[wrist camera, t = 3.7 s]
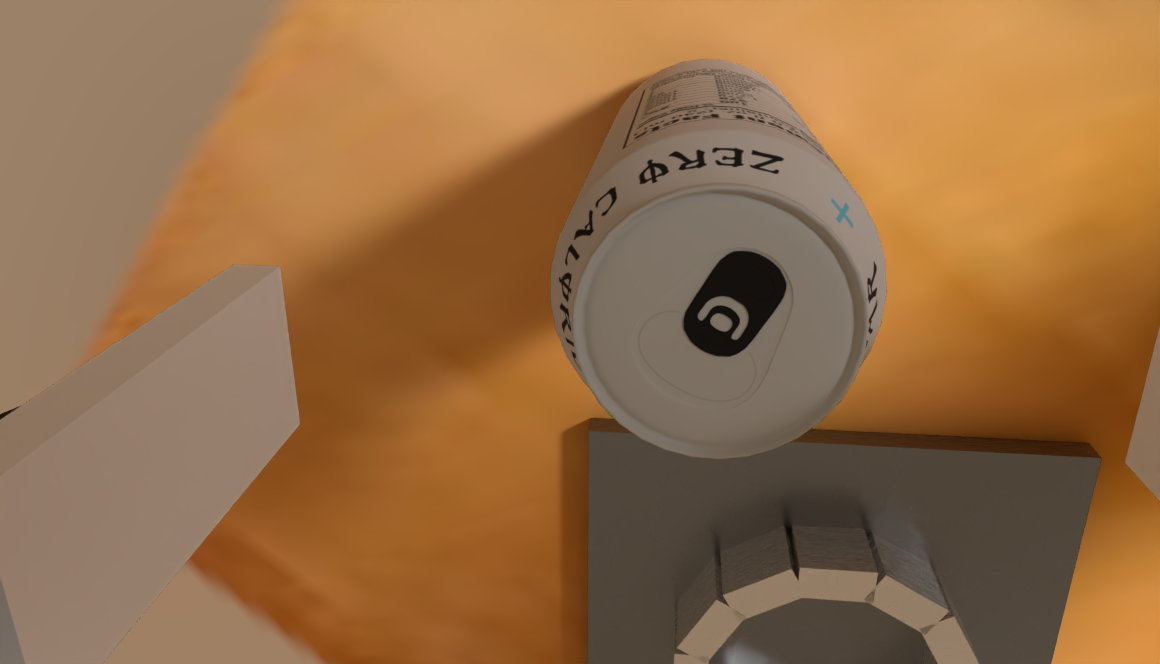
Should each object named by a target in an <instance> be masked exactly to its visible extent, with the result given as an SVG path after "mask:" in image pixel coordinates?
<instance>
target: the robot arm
mask: <svg viewBox="0 0 1160 664" xmlns="http://www.w3.org/2000/svg"><path fill="white" fill-rule="evenodd" d="M299 425H300V419H299V411H298V403H297V395H296V387H295V379H294V372H293V364H292V356H291V348H290V340H289V332H288V325H287V317H286V309H285V301H284V293H283V285H282V277H281V270H280V266H258V265H232V266H230V267H229V268H227V269H226V270H224V271H223V272H221V273H220V274H218V275H217V276H215V277H214V278H212V279H211V280H209V281H208V282H206V283H205V284H203V285H202V286H200V287H199V288H197V289H196V290H194V291H193V292H191V293H190V294H188V295H187V296H185V297H184V298H182V299H181V300H179V301H178V302H176V303H175V304H173V305H172V306H170V307H169V308H167V309H166V310H164V311H163V312H161V313H160V314H158V315H157V316H155V317H154V318H152V319H151V320H149V321H148V322H146V323H145V324H143V325H142V326H140V327H139V328H137V329H136V330H134V331H133V332H131V333H130V334H128V335H127V336H125V337H124V338H122V339H121V340H119V341H118V342H116V343H115V344H113V345H112V346H110V347H109V348H107V349H106V350H104V351H103V352H101V353H100V354H98V355H97V356H95V357H94V358H92V359H91V360H89V361H88V362H86V363H85V364H83V365H82V366H80V367H79V368H77V369H76V370H74V371H73V372H71V373H70V374H68V375H67V376H65V377H64V378H62V379H61V380H59V381H58V382H56V383H55V384H53V385H52V386H50V387H49V388H47V389H46V390H44V391H43V392H41V393H40V394H38V395H37V396H35V397H34V398H32V399H31V400H29V401H28V402H26V403H25V404H23V405H22V406H19V407H17V408H14V409H12V410H9V411H7V412H4V413H2V414H0V664H102V663H103V662H104V661H105V660H106V659H107V657H108V656H109V655H110V654H111V652H112V651H113V650H114V649H115V648H116V647H117V645H118V644H119V643H120V642H121V640H122V639H123V638H124V637H125V636H126V634H127V633H128V632H129V631H130V630H131V628H132V627H133V626H134V624H135V623H136V622H137V621H138V620H139V619H140V617H141V616H142V615H143V614H144V613H145V611H146V610H147V609H148V608H149V607H150V605H151V604H152V603H153V602H154V600H155V599H156V598H157V597H158V595H159V594H160V593H161V592H162V591H163V590H164V588H165V587H166V586H167V585H168V584H169V582H170V581H171V580H172V579H173V577H174V576H175V575H176V574H177V573H178V571H179V570H180V569H181V568H182V567H183V565H184V564H185V563H186V562H187V561H188V559H189V558H190V557H191V556H192V554H193V553H194V552H195V551H196V550H197V548H198V547H199V546H200V545H201V544H202V542H203V541H204V540H205V539H206V537H207V536H208V535H209V534H210V533H211V531H212V530H213V529H214V528H215V527H216V525H217V524H218V523H219V522H220V521H221V519H222V518H223V517H224V516H225V514H226V513H227V512H228V511H229V510H230V508H231V507H232V506H233V505H234V504H235V502H236V501H237V500H238V499H239V498H240V496H241V495H242V494H243V493H244V491H245V490H246V489H247V488H248V487H249V485H250V484H251V483H252V482H253V481H254V479H255V478H256V477H257V476H258V474H259V473H260V472H261V471H262V470H263V468H264V467H265V466H266V465H267V464H268V462H269V461H270V460H271V459H272V458H273V456H274V455H275V454H276V453H277V451H278V450H279V449H280V448H281V447H282V445H283V444H284V443H285V442H286V441H287V439H288V438H289V437H290V436H291V434H292V433H293V432H294V431H295V430H296V428H297V427H298V426H299ZM1125 464H1126V465H1127V466H1128V467H1129V468H1130V469H1131V470H1132V471H1133V472H1134V473H1135V475H1136V476H1137V477H1138V478H1139V479H1140V480H1141V481H1142V482H1143V483H1144V484H1145V486H1146V487H1147V488H1148V489H1149V490H1150V491H1151V492H1152V493H1153V494H1154V495H1155V497H1156V498H1157V499H1158V500H1159V501H1160V327H1159V331H1158V335H1157V339H1156V343H1155V347H1154V351H1153V355H1152V358H1151V362H1150V366H1149V370H1148V374H1147V378H1146V382H1145V386H1144V390H1143V394H1142V398H1141V402H1140V405H1139V409H1138V413H1137V417H1136V421H1135V425H1134V429H1133V433H1132V437H1131V441H1130V445H1129V449H1128V452H1127V456H1126V460H1125Z"/></svg>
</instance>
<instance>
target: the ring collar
mask: <svg viewBox="0 0 1160 664" xmlns="http://www.w3.org/2000/svg"><path fill="white" fill-rule="evenodd" d="M1101 459H1102V458H1101V457H1100V456H1099V454H1098V453H1097V452H1096V451H1095V450H1094V449H1093V447H1092V446H1091V445H1090V444H1089V443H1070V442H1051V441H1031V440H1012V439H992V438H973V437H953V436H934V435H914V434H894V433H875V432H855V431H836V430H816V429H810V430H808V431H807V432H806V433H804V434H803V435H801V436H800V437H799V438H797V439H794V440H792V441H790V442H788V443H786V444H784V445H781V446H779V447H777V448H775V449H773V450H769V451H765V452H762V453H758V454H754V455H750V456H747V457H736V458H725V459H713V458H700V457H691V456H687V455H683V454H679V453H675V452H671V451H667V450H664V449H662V448H660V447H658V446H656V445H653V444H651V443H649V442H647V441H645V440H642V439H640V438H639V437H637V436H636V435H635V434H633V433H632V432H630V431H629V430H627V429H626V428H625V427H623V426H622V425H620V424H619V423H618V422H617V421H616V420H615V419H601V418H591V422H590V426H589V431H588V645H587V664H1051V662H1052V658H1053V654H1054V650H1055V646H1056V642H1057V638H1058V633H1059V629H1060V625H1061V621H1062V617H1063V613H1064V609H1065V605H1066V601H1067V597H1068V593H1069V589H1070V585H1071V581H1072V577H1073V572H1074V568H1075V564H1076V560H1077V556H1078V552H1079V548H1080V544H1081V540H1082V536H1083V532H1084V528H1085V524H1086V520H1087V515H1088V511H1089V507H1090V503H1091V499H1092V495H1093V491H1094V487H1095V483H1096V479H1097V475H1098V471H1099V467H1100V463H1101Z"/></svg>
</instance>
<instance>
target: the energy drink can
mask: <svg viewBox="0 0 1160 664" xmlns="http://www.w3.org/2000/svg"><path fill="white" fill-rule="evenodd" d="M886 292H887V287H886V266H885V257H884V253H883V249H882V246H881V242H880V238H879V235H878V231H877V228H876V226H875V224H874V222H873V220H872V218H871V216H870V214H869V213H868V211H867V209H866V207H865V205H864V203H863V201H862V199H861V198H860V197H859V195H858V194H857V193H856V191H855V190H854V189H853V187H852V186H851V184H850V183H849V182H848V180H847V179H846V178H845V176H844V175H843V174H842V172H841V171H840V170H839V168H838V167H837V166H836V164H835V163H834V162H833V160H832V159H831V158H830V156H829V155H828V154H827V152H826V151H825V150H824V148H823V147H822V146H821V144H820V143H819V142H818V140H817V139H816V138H815V136H814V135H813V134H812V132H811V131H810V130H809V128H808V127H807V126H806V124H805V123H804V122H803V120H802V119H801V118H800V116H799V115H798V114H797V112H796V111H795V110H794V108H793V107H792V106H791V104H790V103H789V101H788V100H787V99H786V98H785V97H784V95H783V94H782V93H781V92H780V91H779V90H778V88H777V87H776V86H775V85H774V84H772V83H771V82H770V81H769V80H767V79H766V78H765V77H763V76H762V75H761V74H760V73H758V72H755V71H753V70H751V69H749V68H747V67H745V66H743V65H740V64H737V63H733V62H729V61H725V60H713V59H699V60H693V61H686V62H681V63H678V64H676V65H673V66H670V67H668V68H665V69H663V70H661V71H659V72H658V73H656V74H655V75H653V76H651V77H650V78H648V79H646V80H645V81H644V82H643V83H642V84H641V85H640V86H639V87H638V88H637V89H635V90H634V91H633V92H632V93H631V94H630V96H629V97H628V98H627V100H626V101H625V103H624V104H623V105H622V107H621V108H620V109H619V111H618V113H617V116H616V118H615V120H614V122H613V124H612V126H611V128H610V130H609V132H608V134H607V136H606V138H605V141H604V143H603V145H602V147H601V149H600V151H599V153H598V155H597V157H596V159H595V161H594V164H593V166H592V168H591V170H590V172H589V174H588V176H587V178H586V180H585V182H584V184H583V186H582V189H581V191H580V193H579V195H578V197H577V199H576V201H575V203H574V205H573V207H572V209H571V211H570V214H569V216H568V218H567V220H566V222H565V225H564V227H563V229H562V231H561V233H560V235H559V238H558V240H557V245H556V249H555V253H554V258H553V262H552V266H551V283H550V302H551V307H552V312H553V318H554V323H555V328H556V331H557V334H558V336H559V339H560V341H561V344H562V346H563V348H564V351H565V353H566V356H567V358H568V359H569V361H570V362H571V364H572V365H573V367H574V368H575V370H576V371H577V373H578V374H579V376H580V377H581V379H582V380H583V382H584V383H585V384H586V385H587V386H588V387H589V388H590V390H591V391H592V393H593V394H594V396H595V397H596V399H597V400H598V402H599V403H600V405H601V406H602V407H603V408H604V409H605V410H606V411H607V412H608V413H609V414H610V415H611V416H612V417H613V418H614V419H615V420H616V421H617V422H618V423H619V424H620V425H622V426H623V427H625V428H626V429H627V430H629V431H630V432H632V433H633V434H635V435H636V436H637V437H639V438H640V439H642V440H645V441H647V442H649V443H651V444H653V445H656V446H658V447H660V448H662V449H664V450H667V451H671V452H675V453H679V454H683V455H687V456H691V457H700V458H713V459H725V458H736V457H747V456H750V455H754V454H758V453H762V452H765V451H769V450H773V449H775V448H777V447H779V446H781V445H784V444H786V443H788V442H790V441H792V440H794V439H797V438H799V437H800V436H801V435H803V434H804V433H806V432H807V431H808V430H810V429H811V428H813V427H814V426H816V425H817V424H818V423H820V422H821V421H822V420H823V419H824V418H825V417H826V416H827V415H828V414H829V413H830V412H831V411H832V410H833V409H834V408H835V407H836V406H837V405H838V404H839V403H840V401H841V400H842V398H843V397H844V395H845V393H846V392H847V390H848V389H849V387H850V386H851V384H852V383H853V381H854V380H855V377H856V375H857V372H858V370H859V368H860V366H861V365H862V363H863V361H864V360H865V358H866V357H867V355H868V354H869V352H870V350H871V348H872V345H873V342H874V340H875V337H876V335H877V332H878V330H879V327H880V325H881V322H882V316H883V310H884V304H885V298H886Z"/></svg>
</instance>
